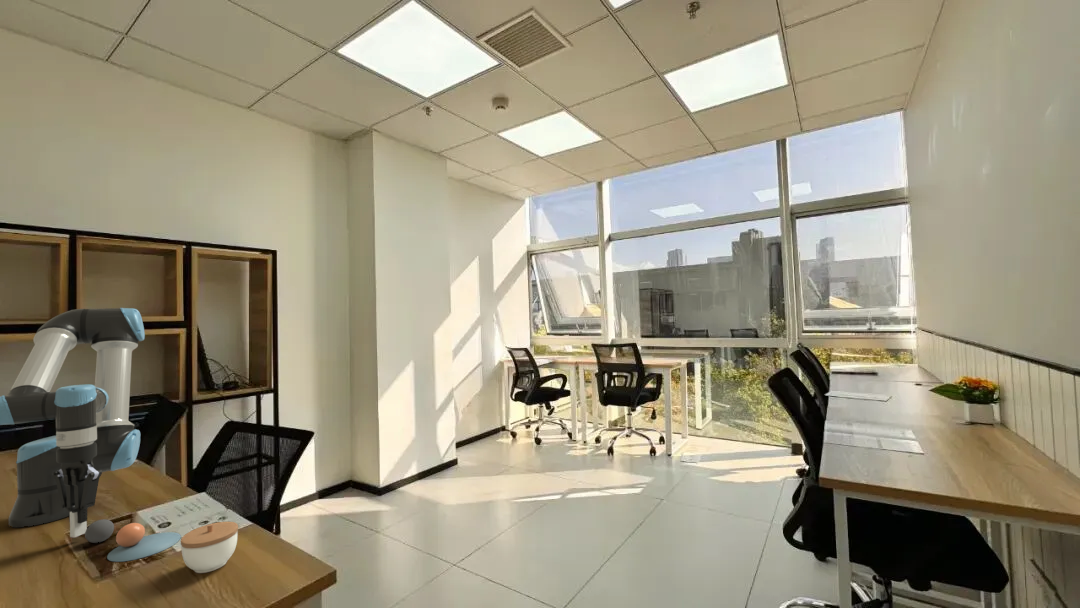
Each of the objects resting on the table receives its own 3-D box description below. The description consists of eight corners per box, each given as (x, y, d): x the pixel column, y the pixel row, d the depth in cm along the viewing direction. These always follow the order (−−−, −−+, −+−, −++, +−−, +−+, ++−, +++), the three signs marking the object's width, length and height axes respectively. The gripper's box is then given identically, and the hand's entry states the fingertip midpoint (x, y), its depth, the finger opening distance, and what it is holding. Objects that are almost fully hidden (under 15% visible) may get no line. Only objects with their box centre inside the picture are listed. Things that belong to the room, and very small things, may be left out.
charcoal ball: (100, 521, 116) (100, 543, 115) (119, 514, 121) (120, 536, 120) (78, 525, 116) (78, 548, 115) (98, 518, 121) (99, 540, 120)
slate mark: (92, 557, 110) (92, 556, 110) (156, 530, 123) (156, 529, 123) (132, 565, 106) (132, 564, 106) (193, 536, 119) (193, 535, 119)
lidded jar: (201, 555, 109) (200, 516, 109) (248, 551, 110) (247, 512, 110) (169, 581, 98) (168, 538, 99) (221, 577, 99) (220, 534, 99)
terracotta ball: (115, 523, 113) (132, 534, 112) (138, 515, 118) (154, 525, 117) (106, 544, 113) (122, 554, 112) (129, 535, 118) (145, 545, 117)
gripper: (39, 448, 116) (40, 540, 116) (79, 449, 114) (81, 543, 113) (74, 440, 123) (75, 526, 123) (112, 440, 121) (114, 529, 121)
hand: (78, 534), depth 118 cm, fingers closed
